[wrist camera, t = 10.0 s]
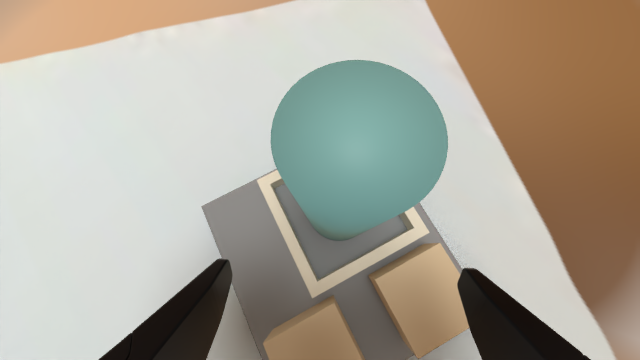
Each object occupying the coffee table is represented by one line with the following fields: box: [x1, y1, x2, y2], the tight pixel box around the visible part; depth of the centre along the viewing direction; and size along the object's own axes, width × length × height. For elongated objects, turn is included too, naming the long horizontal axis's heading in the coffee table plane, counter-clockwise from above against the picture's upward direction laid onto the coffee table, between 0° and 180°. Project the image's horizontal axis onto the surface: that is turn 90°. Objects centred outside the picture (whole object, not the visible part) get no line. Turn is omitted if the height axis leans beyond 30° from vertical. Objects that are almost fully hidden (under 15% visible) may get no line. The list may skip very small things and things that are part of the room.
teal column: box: [271, 60, 448, 241], centre depth 14 cm, size 5×5×14 cm
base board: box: [202, 169, 469, 360], centre depth 19 cm, size 16×17×4 cm
